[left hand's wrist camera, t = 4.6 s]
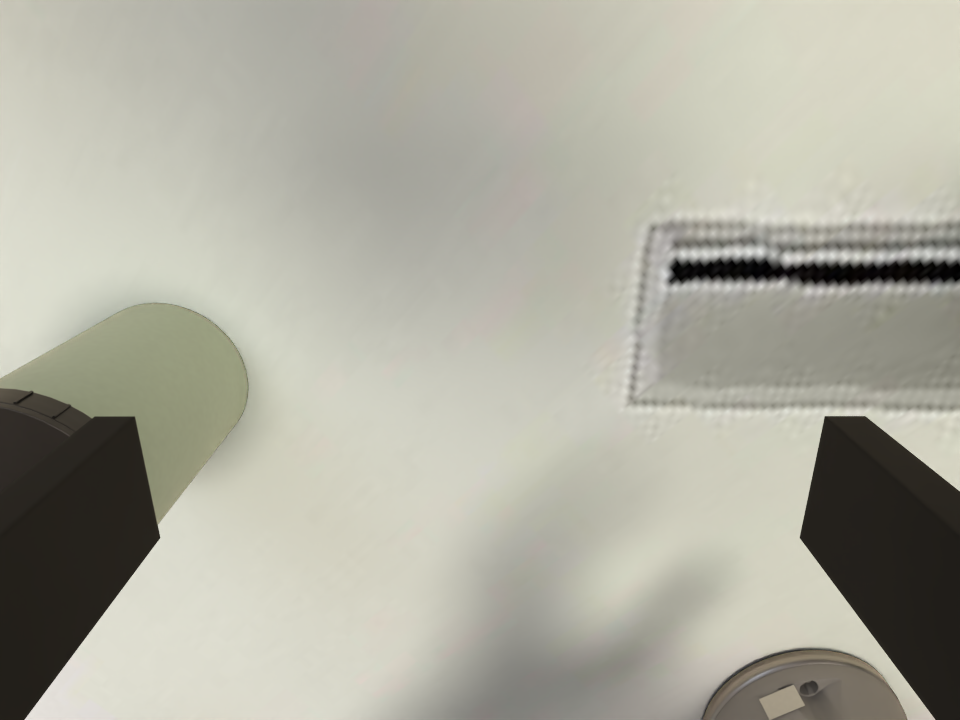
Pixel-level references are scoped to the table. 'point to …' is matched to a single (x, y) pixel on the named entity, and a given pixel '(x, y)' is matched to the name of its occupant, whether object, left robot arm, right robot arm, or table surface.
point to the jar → (150, 387)
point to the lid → (32, 429)
